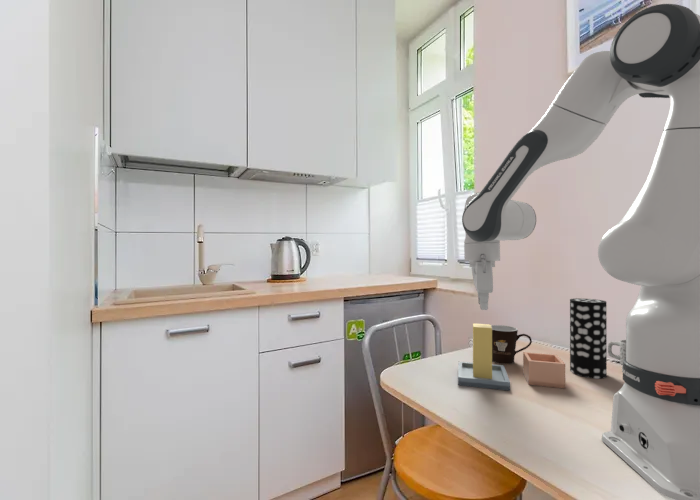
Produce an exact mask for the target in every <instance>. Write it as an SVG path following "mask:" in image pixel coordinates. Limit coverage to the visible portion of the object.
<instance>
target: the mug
mask: <svg viewBox="0 0 700 500" xmlns="http://www.w3.org/2000/svg"><path fill="white" fill-rule="evenodd" d="M613 346H617V347H619V355H618V354H614V353H613V351H612V347H613ZM607 353H608V356H609V357H611V358H614V359H615V360H619V364H620V365H622V366H623V360H624V359H626V339H620V340H619V341H609V342H608V344H607Z"/></svg>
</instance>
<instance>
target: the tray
mask: <svg viewBox="0 0 700 500" xmlns="http://www.w3.org/2000/svg"><path fill="white" fill-rule="evenodd" d="M457 368H458V370H457V372H458V373H457V375H458V376H457V385H458V386H464V387H473V388H474V387H475V388H484V389H491V390H498V391H499V390H501V391H509V392H511V381H510V379H509V375H508V372H507V370H506V368H505V364H493V363H492V379H488V378H478V377H473V362H469V361H458V367H457Z"/></svg>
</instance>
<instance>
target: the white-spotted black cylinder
mask: <svg viewBox="0 0 700 500" xmlns="http://www.w3.org/2000/svg"><path fill="white" fill-rule="evenodd" d="M607 318H608V317H607V301H606V300H602V299H596V298H582V297H581V298H577V297H576V298H570V299H569V371H570V373H572V374H575V375H576V376H579V377H583V378H588V379H605V378H607V372H608V371H607V369H608V368H607V367H608V366H607V362H608V360H607V357H608V355H607V353H608V344H607V327H608V326H607Z"/></svg>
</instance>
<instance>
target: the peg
mask: <svg viewBox="0 0 700 500" xmlns="http://www.w3.org/2000/svg"><path fill="white" fill-rule="evenodd" d="M491 325H492V324H490V323H489V324H488V323H487V324H486V323H475V322H474V323H472V363H473V377H478V378H488V379H492V364H493V361H492V327H491Z"/></svg>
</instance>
